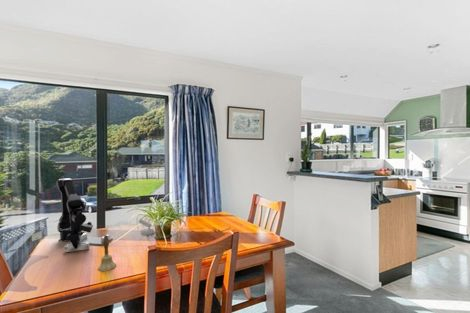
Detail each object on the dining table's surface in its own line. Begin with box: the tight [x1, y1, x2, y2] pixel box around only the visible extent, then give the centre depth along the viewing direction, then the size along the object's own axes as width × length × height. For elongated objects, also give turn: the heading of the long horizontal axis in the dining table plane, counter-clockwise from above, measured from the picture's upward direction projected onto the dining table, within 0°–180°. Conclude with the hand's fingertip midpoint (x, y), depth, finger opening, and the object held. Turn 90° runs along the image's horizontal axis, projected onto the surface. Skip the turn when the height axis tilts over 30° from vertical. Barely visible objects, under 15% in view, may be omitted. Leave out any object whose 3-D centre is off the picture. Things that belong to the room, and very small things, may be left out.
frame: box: [63, 242, 91, 253], centre depth 156 cm, size 12×4×3 cm, turn 109°
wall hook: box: [138, 218, 155, 236], centre depth 186 cm, size 9×10×10 cm
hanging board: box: [80, 232, 114, 246], centre depth 170 cm, size 19×10×4 cm, turn 79°
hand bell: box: [97, 234, 117, 272], centre depth 134 cm, size 8×8×16 cm
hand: (77, 247), depth 156 cm, fingers closed on frame, 4 cm apart
